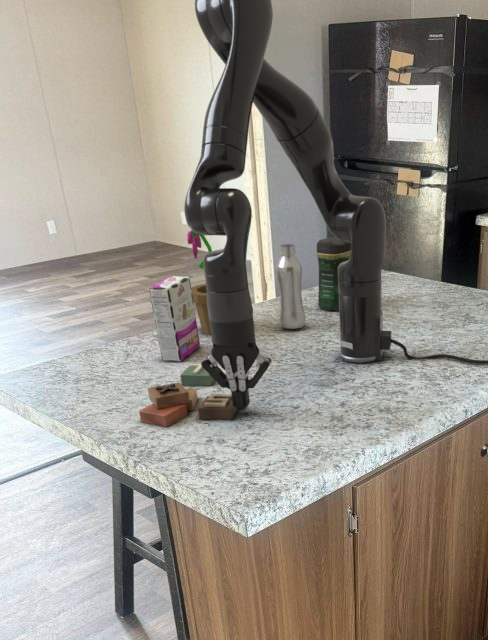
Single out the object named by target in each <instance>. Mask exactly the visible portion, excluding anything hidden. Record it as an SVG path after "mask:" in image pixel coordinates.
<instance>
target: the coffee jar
mask: <svg viewBox="0 0 488 640" xmlns="http://www.w3.org/2000/svg"><path fill="white" fill-rule="evenodd" d="M351 245H352V244H350V243H345V242H342V241H340V240H338V239H336V238H335V237H334V236H330V237H326V238H321V239H319V240H318V241H317V243H316V258H317V263H318V298H317V299H318V308H320V309H322V310H324V311H329V312H331V311H339V291H338V266H339V265H340V264H341V263H342V262H345V261H348V260H349V259H350V257H351Z"/></svg>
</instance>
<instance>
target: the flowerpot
mask: <svg viewBox="0 0 488 640" xmlns="http://www.w3.org/2000/svg"><path fill="white" fill-rule="evenodd" d="M185 221H186V220H185ZM186 223H187V221H186ZM186 236H187V244H188V245H191V247H192V254H193V257H194V259H197V258H198V253H199V252H198V251H199V250H198V248H199V249H202V242H203V243H204V245H205V247H206V248H207V251H208V252H211V251H213V249H212V246H211V244H210V243H209V241H208V239H207V238H206V235H199V234H196V233H195V232H193V231H192V230H191V229H190V230H189V231H188V232H187V235H186ZM208 252H207V253H208ZM198 268H199V269H202V270H204V266H203V260H201V262H200V263H199V264H198ZM191 290H192V297H193V303H194V306H195V308H196V309H195V310H196V311H197V317H198V320H199V324H200V327H201V331H202V333H203V334H205V335H208V336H211V329H210V322H209V314H208V307H207V289H206V283H203V284H198V285H194V286H191Z"/></svg>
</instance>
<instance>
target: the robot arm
mask: <svg viewBox="0 0 488 640" xmlns="http://www.w3.org/2000/svg"><path fill="white" fill-rule="evenodd" d="M272 2H273V1H272V0H194V11H195V16H196V19H197V22H198V23H197V24H198V25H199V27H200V29H201V32H202V34H203V35H204V37H205V39H206V41H207V42H208V44H209V45H210V46H211V48H212V50H213V51H214V52H215V53H216V55H217V56H218V57H219V58H220V60H221V61H222V63H223V64H224V69H223V71H222V73H221V75H220V78H219V80H218V82H217V84H216V86H215V89H214V91H213V93H212V95H211V98H210V100H209V102H208V105H207V109H206V110H205V111H206V112H205V114H204V115H205V116H204V119H203V120H204V121H203V127H202V139H201V148H200V158H199V161H198V162H197V165H196V168H195V170H194V174H193V177H192V180H191V181H190V184H189V187H188V189H187V192H186V194H185V199H184V206H183V207H184V208H183V210H184V212H183V213H184V217H185V221H187V222H186V224H187V226H188V228H189V229H190V231H191V230H192V231H193V232H195V233H196V234H199V235H204V236H222V237H223V236H224V237H226V241H225V244H224V248H219V249H215V250H212V251H211V252H207V253H205V254H204V255H203V258H202V261H203V266H204V269H203V273H204V279H205V280H204V281H205V284H206V289H207V307H208V314H209V322H210V329H211V335H210V336H211V343H212V348H211V349H210V355H208V356H206V357H205V358H204V359H203V360H202V361H201V363H200V364H201V366H202V367H203V368H204V369H205V370H206V371H207V372H208V373H209V374H210V375H211V377H212V378H213V379H214V380H215V381H214V382H216V384H218V385H219V386H220V388H222V389H225V388H226V389H228V390H230V392H231V395H232V401H233V405H234V407H236V409H237V411H245V410H246V409H247V408H248V407H249V405H250V401H251V399H250V393H249V390H250V389H254V388H255V387H256V386H257V384H258V383H259V382H260V380H261V378H263V376H264V374H265V373H266V371H267V370H268V369H269V367H270V366H271V364H272V363H273V362H272V358H270V357H265V356H264V355H263V354H261V353H260V348H259V347H258V345H257V343H256V341H257V340H256V333H255V332H256V331H255V324H254V322H255V321H254V308H253V304H252V297H251V293H250V287H249V280H248V269H247V253H248V242H249V236H250V231H251V225H252V216H253V215H252V214H253V211H252V204H251V202H250V200H249V198H248V196H247V195H246V194H245V192H244V191H242V190H241V189H239V188H234V187H222V185H223V184H225V183H227V182H230V181H233V180H237V179H239V178H240V177H242V176H243V174H244V173H245V168H246V158H247V150H248V149H247V148H248V138H249V129H250V121H251V120H250V119H251V115H252V114H251V113H252V108H253V105H254V106H255V107H256V109H257V111H258V112H259V113H260V115H261V117H262V118H263V119H264V122H265V123H266V125H267V126H268V128H269V129H270V132H271V133H272V135H273V136H274V138H275V141H277V143H278V145H279V146H280V148H281V150H283V152H284V154H285V155H286V157H287V158H288V159H289V161H290V162H291V164H292V166H293V167H294V169H295V170H296V172H297V174H298V175H299V177H300V179H301V181H302V182H303V183H304V185H305V186H306V188H307V190H308V192H309V193H310V195H311V196H312V198H313V200H314V202H315V204H316V206H317V208H318V210H319V213H320V215H321V217H322V218H323V220H324V222H325V225H326V227H327V228H328V230H329V232H330V233H331V234H332V237H335V238H336V239H338V240H340V241H342V242H345V243H350V245H351V255H350V259H349V260H348V261H345V262H342V263H341V264H340V265H339V266H338V291H339V310H338V313H339V317H338V318H339V346H340V352H339V353H340V359H341V360H343V361H345V362H349V363H353V364H354V363H355V364H356V363H357V364H362V363H363V364H365V363H372V362H381V361H382V358H383V355H384V351H390V350H391V347H392V344H394V345H396V346H398V347H400V348H401V349H402V350H403V355H404V357H406V358H407V359H409V360H434V359H449V360H450V359H451V360H455V361H460V362H464V363H469V364H475V365H477V364H478V365H488V359H487V360H485V359H484V360H483V359H472V358H467V357H463V356H458V355H453V354H446V353H445V354H443V353H439V354H431V355H427V356H420V357H419V356H413V355H411V354H409V353H408V350H407V347H406V346H405V345H404V344H403V343H402V342H400V341H398V340H395V339H392V330H384V329H383V328H384V327H383V324H384V323H383V322H384V320H383V315H384V313H383V310H382V270H383V267H384V264H385V258H386V240H387V239H386V237H387V218H386V217H387V216H386V213H385V208H384V206H383V204H382V203H381V201H380V200H378V199H377V198H374V197H371V196H363V195H354V194H353V193H351V192H350V191H349V189H347V187H346V186H345V184H344V182H343V180H342V179H341V178H340V176H339V174H338V172H337V169H336V166H335V158H334V157H335V156H334V155H335V152H334V140H333V136H332V132H331V130H330V127H329V126H328V124H327V122H326V119H324V116H323V115H322V113H321V111H320V109H319V107H318V105H317V104H316V102H315V101H314V100H313V98H312V97H311V96H310V95H309V93H308V92H307V91H305V90H304V89H303V88H301V87H300V86H299V85H298V84H297V83H295V82H294V81H292V80H291V79H289V78H288V77H287V76H285V75H284V74H283V73H281V71H279V70H278V69H276V68H275V67H273V66H272V65H271V64H270V62H268V61H267V60H266V58H265V55H266V51H267V47H268V43H269V40H270V36H271V32H272V25H273V15H274V14H273V13H274V12H273V10H274V9H273V3H272ZM255 362H256V368H258V369H257V371H256V372H255V373H254V374H253V376H252V378H250V379H249V376H250V370H251V369H252V366H253V365H254V363H255ZM218 365H219V366H220V367H221V368H222V369H221V368H220V367H219V366H218ZM223 370H224V371H225V372H224V371H223Z"/></svg>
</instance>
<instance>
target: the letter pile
mask: <svg viewBox="0 0 488 640" xmlns="http://www.w3.org/2000/svg"><path fill="white" fill-rule="evenodd" d="M147 393H148V398H149V400H150V402H151V403H152V404H150V405H148V406H146V407H144V408H141V409H139V411H138V414H139V418H140V419H139V420H140V422H141V423H145V424H150V425H154V426H160V427H164V428H168V427H170V426H171V425H173V424H175V423H176V422H178V421H181V420H182V419H184V418H185V417H187V416H188V412H193V411H194V410H195V407H196V405H197V402H198V391H197V388H185V387H184V385H182V383H181V382H179V381H178V382H173V383H172V382H171V383H168V384H162V385H157V386H153V387H148V388H147Z"/></svg>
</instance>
